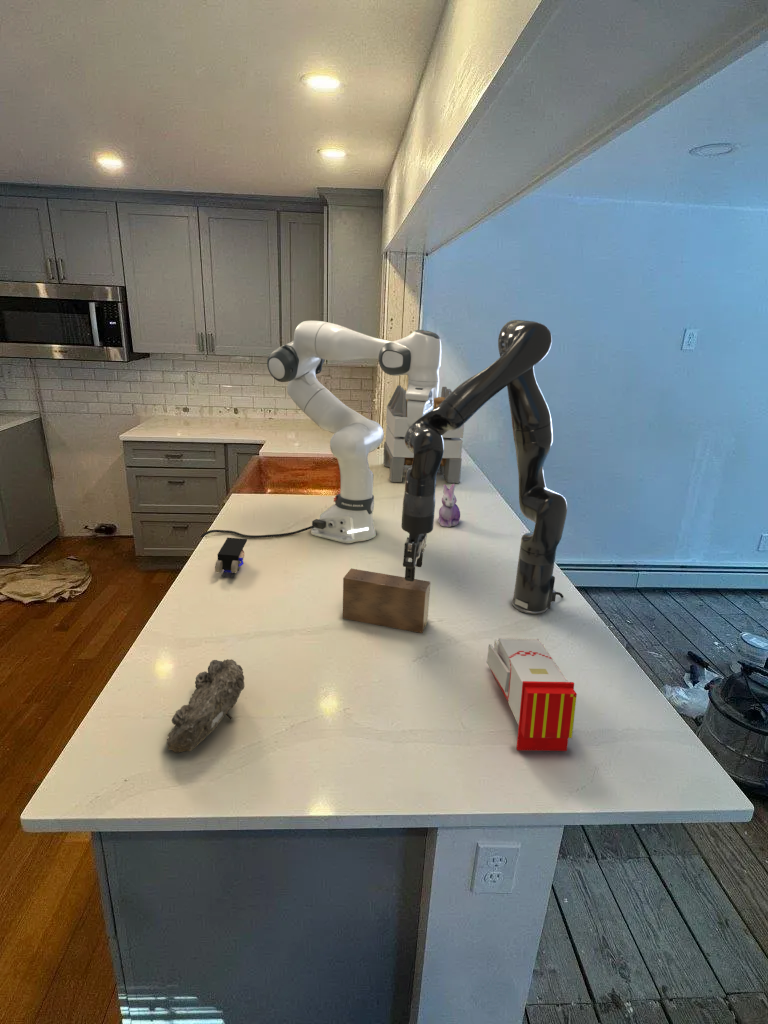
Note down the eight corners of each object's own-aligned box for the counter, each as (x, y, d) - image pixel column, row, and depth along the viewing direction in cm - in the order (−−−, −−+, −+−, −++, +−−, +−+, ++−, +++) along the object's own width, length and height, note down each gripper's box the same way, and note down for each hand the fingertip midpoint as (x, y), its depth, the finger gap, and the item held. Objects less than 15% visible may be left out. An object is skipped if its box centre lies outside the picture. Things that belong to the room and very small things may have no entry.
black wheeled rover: (238, 584, 162) (249, 557, 175) (236, 562, 158) (247, 536, 172) (215, 584, 161) (227, 556, 175) (212, 561, 158) (225, 535, 171)
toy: (536, 621, 128) (586, 689, 98) (531, 676, 131) (578, 758, 101) (482, 620, 127) (517, 688, 98) (478, 675, 130) (511, 757, 101)
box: (342, 618, 144) (343, 577, 140) (349, 607, 150) (350, 568, 146) (422, 633, 139) (425, 591, 135) (427, 621, 144) (430, 581, 141)
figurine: (445, 529, 206) (449, 489, 200) (430, 519, 214) (433, 481, 209) (467, 525, 210) (470, 487, 205) (451, 516, 218) (454, 479, 213)
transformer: (382, 463, 289) (386, 382, 275) (445, 464, 293) (451, 384, 279) (390, 482, 257) (394, 392, 243) (460, 483, 261) (468, 394, 247)
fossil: (192, 660, 117) (244, 628, 112) (224, 691, 120) (276, 661, 115) (142, 746, 98) (202, 712, 93) (182, 779, 101) (242, 748, 96)
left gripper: (419, 385, 171) (416, 430, 176) (404, 393, 153) (401, 444, 157) (440, 387, 170) (436, 432, 175) (427, 395, 151) (423, 446, 156)
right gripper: (428, 522, 125) (422, 588, 130) (439, 503, 138) (434, 564, 143) (395, 517, 127) (391, 582, 132) (409, 499, 140) (405, 559, 145)
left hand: (419, 438), depth 166 cm, fingers open, 8 cm apart
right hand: (413, 573), depth 138 cm, fingers open, 8 cm apart
